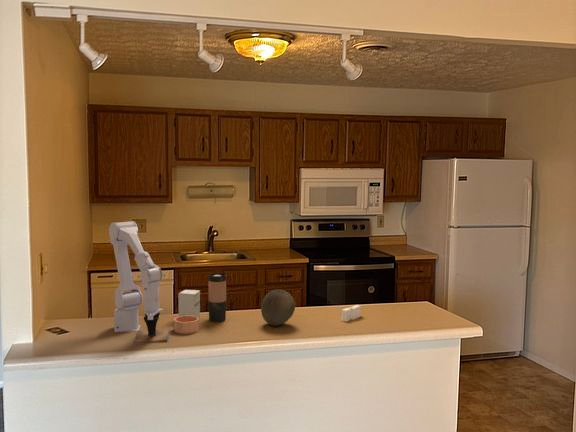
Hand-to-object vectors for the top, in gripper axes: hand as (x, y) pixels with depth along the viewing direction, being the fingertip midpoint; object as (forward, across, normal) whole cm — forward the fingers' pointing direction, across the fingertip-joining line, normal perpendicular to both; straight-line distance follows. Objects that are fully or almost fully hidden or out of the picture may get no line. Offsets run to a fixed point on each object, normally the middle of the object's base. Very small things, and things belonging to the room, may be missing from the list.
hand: (152, 332), depth 209 cm
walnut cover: (+2, 0, 0) cm, 2 cm away
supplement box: (+2, +23, -14) cm, 27 cm away
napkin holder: (+3, +16, -84) cm, 86 cm away
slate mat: (+2, 0, 0) cm, 2 cm away
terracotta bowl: (+2, +8, -13) cm, 15 cm away
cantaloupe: (+2, +11, -51) cm, 52 cm away
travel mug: (+2, +22, -26) cm, 34 cm away
